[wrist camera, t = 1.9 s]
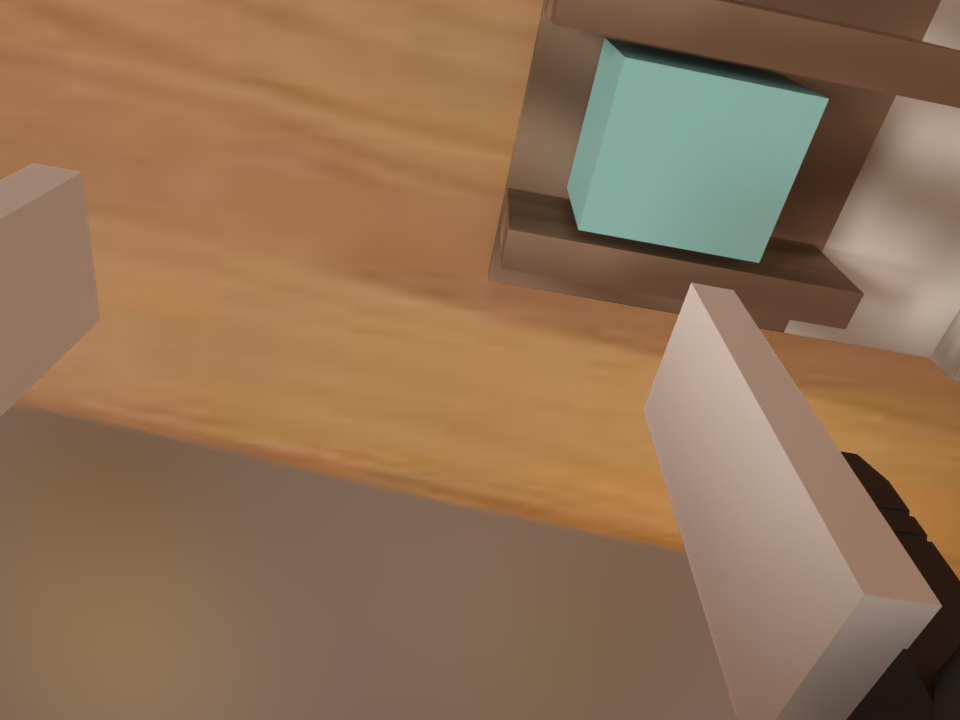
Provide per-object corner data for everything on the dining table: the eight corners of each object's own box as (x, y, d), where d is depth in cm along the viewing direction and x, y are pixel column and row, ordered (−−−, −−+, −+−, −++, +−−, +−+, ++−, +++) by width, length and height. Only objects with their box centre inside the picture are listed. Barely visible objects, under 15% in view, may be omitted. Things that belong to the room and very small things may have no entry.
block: (604, 37, 27) (624, 57, 23) (777, 72, 27) (828, 98, 23) (566, 187, 30) (578, 229, 26) (722, 216, 30) (758, 262, 26)
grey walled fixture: (571, -131, 25) (590, -147, 20) (1154, -1, 27) (1309, 15, 22) (488, 271, 33) (486, 333, 28) (937, 350, 35) (1012, 422, 30)
